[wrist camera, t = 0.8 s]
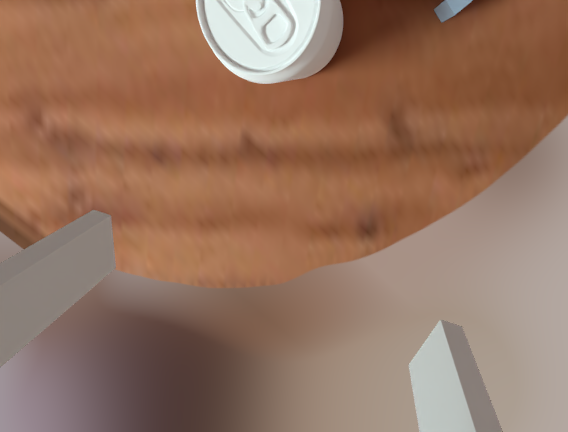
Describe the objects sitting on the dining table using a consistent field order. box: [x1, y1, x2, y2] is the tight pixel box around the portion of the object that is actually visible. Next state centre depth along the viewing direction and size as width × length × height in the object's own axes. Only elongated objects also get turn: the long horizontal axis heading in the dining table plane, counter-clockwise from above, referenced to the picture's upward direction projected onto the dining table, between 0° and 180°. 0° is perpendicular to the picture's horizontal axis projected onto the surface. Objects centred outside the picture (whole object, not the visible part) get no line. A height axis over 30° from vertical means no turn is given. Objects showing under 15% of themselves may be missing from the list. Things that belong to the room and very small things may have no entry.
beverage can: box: [196, 0, 343, 84], centre depth 21 cm, size 8×8×12 cm
